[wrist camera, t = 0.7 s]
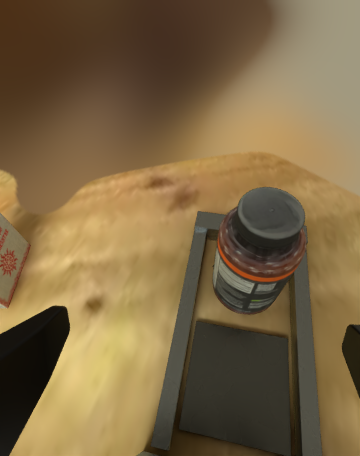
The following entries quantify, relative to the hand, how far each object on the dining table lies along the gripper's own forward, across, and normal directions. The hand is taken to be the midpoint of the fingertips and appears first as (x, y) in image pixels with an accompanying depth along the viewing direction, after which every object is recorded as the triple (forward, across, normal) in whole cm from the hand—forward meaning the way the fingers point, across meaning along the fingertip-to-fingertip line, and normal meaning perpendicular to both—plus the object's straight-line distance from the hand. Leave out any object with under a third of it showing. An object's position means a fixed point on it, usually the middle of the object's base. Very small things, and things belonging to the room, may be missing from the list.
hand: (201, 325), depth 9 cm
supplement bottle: (+15, -4, +8) cm, 18 cm away
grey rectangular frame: (+12, -4, +10) cm, 16 cm away
